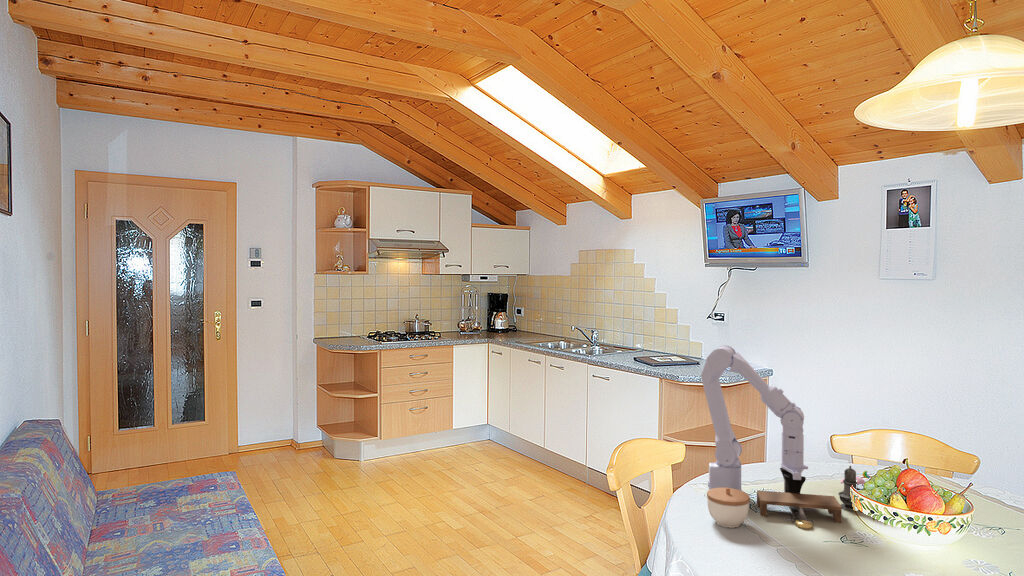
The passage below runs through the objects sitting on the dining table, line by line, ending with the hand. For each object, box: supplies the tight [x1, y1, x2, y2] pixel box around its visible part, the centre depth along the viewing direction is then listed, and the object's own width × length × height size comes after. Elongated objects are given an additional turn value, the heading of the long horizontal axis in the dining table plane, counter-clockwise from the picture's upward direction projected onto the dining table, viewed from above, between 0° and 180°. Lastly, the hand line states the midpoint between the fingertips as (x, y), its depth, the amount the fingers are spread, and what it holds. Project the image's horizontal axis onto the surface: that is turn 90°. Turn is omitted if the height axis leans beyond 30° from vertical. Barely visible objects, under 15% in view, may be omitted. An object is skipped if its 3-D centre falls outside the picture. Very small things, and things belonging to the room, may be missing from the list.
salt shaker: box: [837, 465, 857, 512], centre depth 173 cm, size 6×6×12 cm
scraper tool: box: [783, 478, 813, 524], centre depth 171 cm, size 5×15×7 cm, turn 165°
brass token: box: [795, 520, 813, 531], centre depth 162 cm, size 4×4×1 cm
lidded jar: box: [706, 488, 751, 529], centre depth 164 cm, size 11×11×9 cm
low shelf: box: [756, 489, 843, 524], centre depth 170 cm, size 20×8×4 cm, turn 75°
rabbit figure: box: [839, 470, 871, 486], centre depth 188 cm, size 6×6×15 cm
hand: (792, 496), depth 177 cm, fingers open, 4 cm apart
